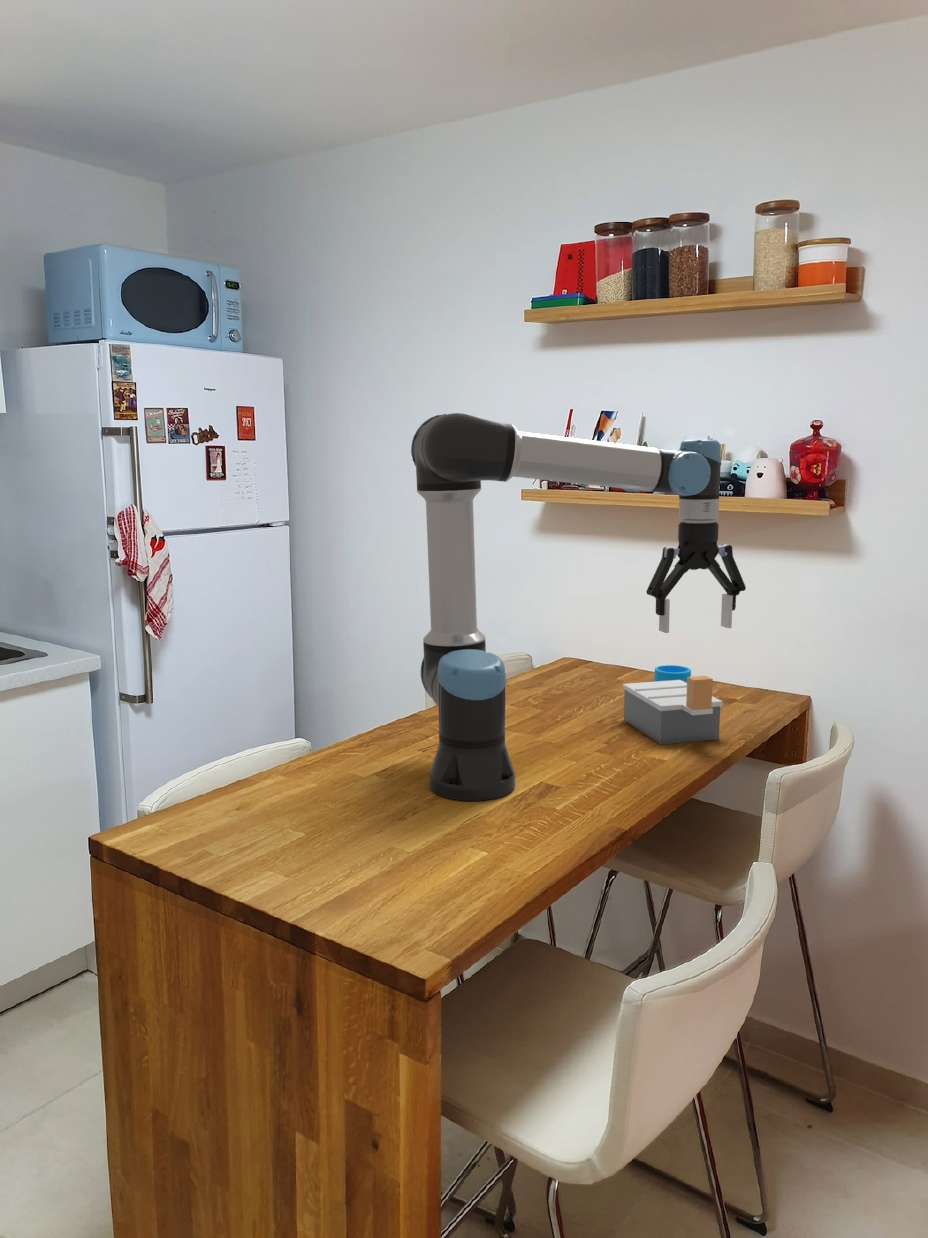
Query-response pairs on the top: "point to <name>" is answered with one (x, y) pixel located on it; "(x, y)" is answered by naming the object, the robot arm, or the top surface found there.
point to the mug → (672, 673)
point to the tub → (670, 722)
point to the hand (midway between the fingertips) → (695, 629)
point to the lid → (678, 694)
